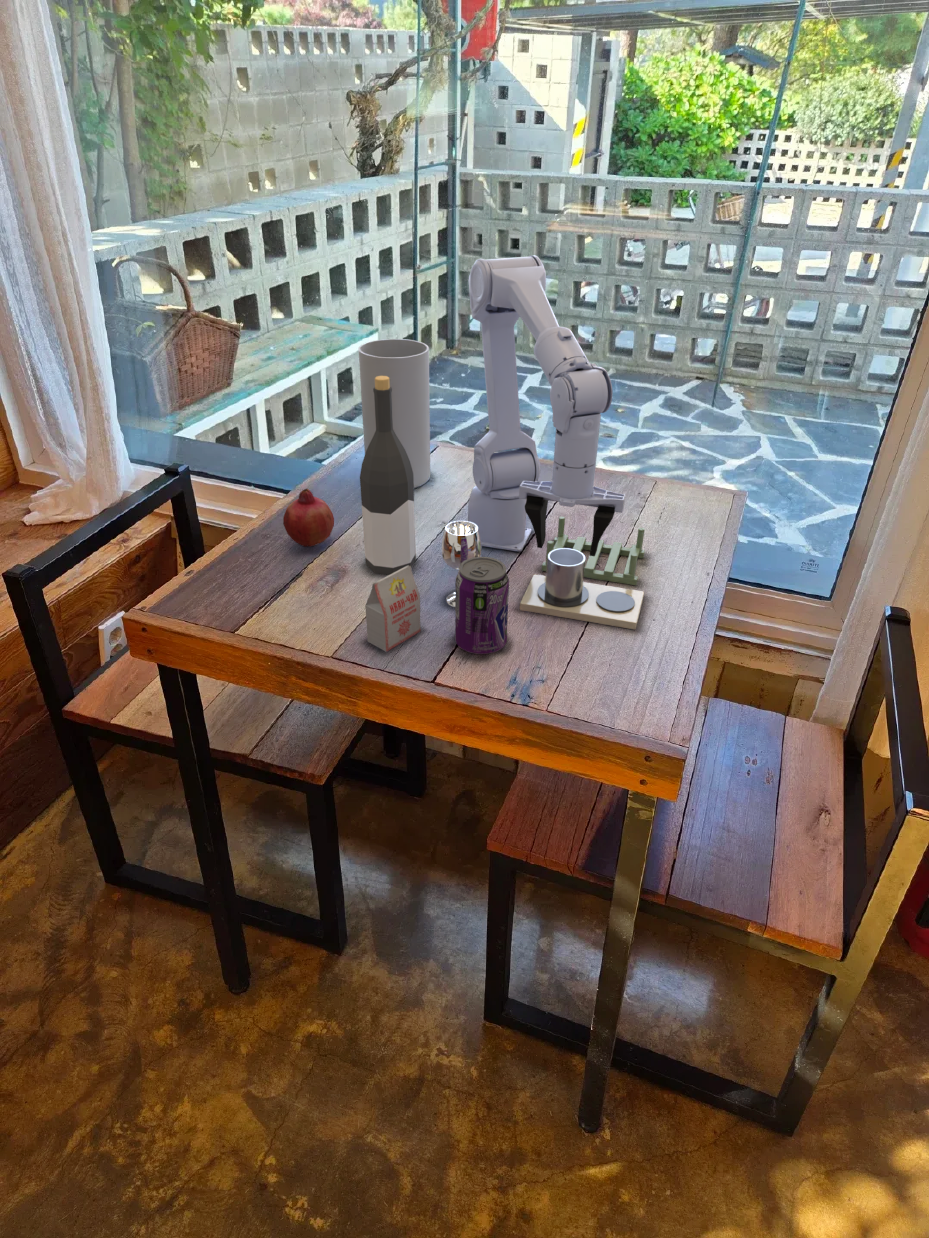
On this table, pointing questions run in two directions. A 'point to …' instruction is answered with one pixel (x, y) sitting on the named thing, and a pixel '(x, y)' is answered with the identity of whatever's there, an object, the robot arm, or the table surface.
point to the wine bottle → (387, 493)
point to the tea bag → (393, 610)
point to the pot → (565, 574)
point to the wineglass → (460, 546)
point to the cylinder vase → (400, 396)
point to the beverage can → (481, 605)
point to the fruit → (308, 520)
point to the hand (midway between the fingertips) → (566, 548)
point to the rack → (613, 549)
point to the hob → (587, 604)
